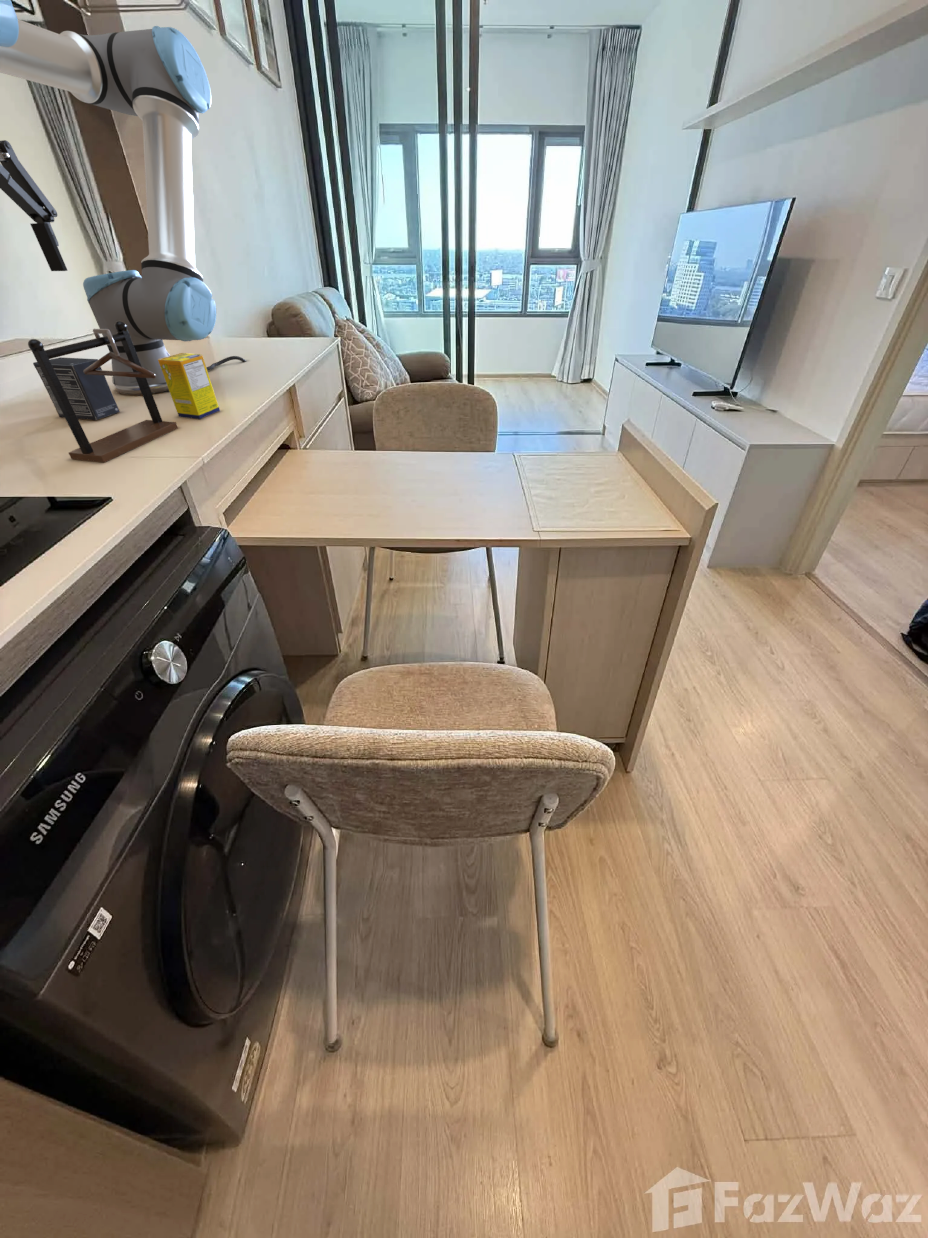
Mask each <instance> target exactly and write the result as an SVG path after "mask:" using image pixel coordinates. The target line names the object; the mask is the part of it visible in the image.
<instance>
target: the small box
mask: <svg viewBox="0 0 928 1238" xmlns="http://www.w3.org/2000/svg"><path fill="white" fill-rule="evenodd" d="M49 360H50V362H51V364H52V366H53V368H54V371H55V373H56V375H57V377H58V379H59V381H60V383H61V385H62V387H63V389H64V391H65V393H66V395H67V397H68V400H69V402H70V404H71V406H72V408H73V410H74V412H75V414H76V416H77V418H78V420H87V421H98V420H101V419H104V418H107V417H109V416H112V415H115V414H118V413H120V412H121V411H120V409H119V406H118V404H117V402H116V400H115V398H114V394H113V393H112V390H111V388H110V385H109V382H108V381H107V378H106V376H105V375H86V374H84V372H83V371H84V369H86V368H87V367H89V366H90V365H92V364H93V363H95V362H96V361H97V360H99V359H98V358H82V357H63V356H60V357H56V358H52V359H49ZM32 364H33V366H34V369H35V370H36V372H37V373H38V376H39V377H40V379H41V382H42V383H43V386H44V387H45V390H46V392H47V394H48V396H49V398H50V400H51V402H52V405H53V407H54V408H55V410H56V413H57V415H58V417H59V418H63V419H64V418H65V417H64V415H63V413H62V411H61V409H60V407H59V405H58V403H57V401H56V399H55V397H54V395H53V393H52V391H51V389H50V387H49V385H48V383H47V381H46V379H45V377H44V375H43V373H42V371H41V369H40V367H39V365H38V363H37V361H35V362H33V363H32ZM96 370H103V369H102V366H100V367H99V368H97V369H96Z"/></svg>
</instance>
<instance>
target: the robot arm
mask: <svg viewBox="0 0 928 1238" xmlns="http://www.w3.org/2000/svg"><path fill="white" fill-rule="evenodd" d="M12 2H13V1H12V0H0V74H4V75H7V76H11V77H16V78H19V79H23V80H25V81H30V82H33V83H37V84H40V85H45V86H48V87H51V88H56V89H59V90H63V91H66V92H70V94H71V95H73V97H75V98H76V99H77V100H79V101H80V102H83V103H86V104H89V105H93V106H97V107H100V108H103V109H107V110H110V111H113V112H117V113H120V114H124V115H129V116H134V117H138V118H139V120H141V122H142V141H143V157H144V159H143V160H144V178H145V179H144V182H145V197H146V201H145V202H146V218H147V219H146V220H147V221H146V222H147V237H148V238H147V240H148V241H147V242H148V255H147V256H145V257H144V258H143V259H141V262H140V266H141V275H140V272H139V271H137V270H136V269H128V270H120V271H114V272H109V273H103V274H98V275H92V276H88V277H86V278H85V279H84V280H83V283H82V286H83V290H84V292H85V296H86V300H87V302H88V305H89V308H90V310H91V312H92V314H93V316H94V319H95V322H96V324H97V326H98V329H109V330H110V332H111V335H113V334H117V333H118V332H117V330H116V328H115V323H116V322H117V321H122V322H124V323H125V324H126V326H127V330H128V332H129V335H130V337H131V340H132V343H133V345H134V348H135V350H136V353H137V356H138V358H139V361H140V363H141V366H142V368H144V369H146V370H148V371H150V372H152V373H154V374H155V375H156V377H155V378H154V379H153V378H146V379H147V382H148V384H149V387H150V390H151V392H152V394H158V393H163V392H164V393H165V392H168V391H169V389H168V386H167V383H166V380H165V378H164V375H163V372H162V369H161V367H160V364H159V361H158V359H161V358H165V357H168V356H171V354H170V353H169V351H168V350H167V349H166V345H165V343H164V341H182V342H192V341H201V340H204V339H206V338H207V337H208V336H209V335H211V334H212V332H213V331H214V328H215V325H216V322H217V321H216V320H217V308H216V307H217V306H216V302H215V299H214V298H213V293H212V291H211V289H210V288H209V287H208V285H207V284H206V283H205V282H204V277H203V275H202V274H201V272H200V271H199V270H198V268H197V267H196V253H195V251H196V250H195V220H194V192H193V191H194V190H193V187H194V185H193V162H192V159H193V157H192V140H193V139H194V138H196V137H197V136H199V132H200V122H199V121H200V120H199V119H200V118H199V116H200V115H199V114H205V113H206V112H207V111H209V110H210V108H211V107H212V106H211V105H212V91H211V85H210V82H209V79H208V75H207V72H206V70H205V67H204V65H203V63H202V60H201V58H200V56H199V54H198V53H197V50H196V49H195V47H194V45H193V44H192V43H191V41H190V40H189V39H188V38H187V37H186V36H185V35H184V33H182V32H181V31H180V30H179V29H177V28H175V27H171V26H163V27H161V26H158V25H154V26H152V27H151V28H145V29H136V30H125V31H117V32H116V31H115V32H107V33H102V34H81V33H77V32H75V31H72V30H64V31H61V32H60V33H57V32H54V31H52V30H49V29H46V28H44V27H41V26H38V25H35V24H32V23H29V22H27V21H24V20H22V19H19V18H18V16H17V13H16V10H15V7H14V6H13V3H12ZM0 190H1V191H2V192H3V193H4V194H5V195H6V196H7V197H9V198H10V199H11V201H13V203H14V204H16V206H18V207H19V208H20V209H21V210H22V211H23V212H24V213H25V214H26V215H27V216H28V217H29V218H30V219H31V220H32V221H33V222H34V223H33V222H32V223H30V226H31V229H32V231H33V233H34V235H35V238H36V240H37V242H38V245H39V247H40V249H41V251H42V254H43V256H44V258H45V261H46V262H47V265H48V267H49V269H50V271H51V272H67V271H68V268H67V266H66V263H65V261H64V259H63V255H62V254H61V251H60V249H59V241H58V239H57V236H56V234H55V231H54V229H53V227H52V224H51V223H55V218H57V217H58V212H57V210H56V208H55V207H54V205H53V204H52V203H51V202H50V201H49V199H48V197H46V195H45V194H44V192H43V191H42V190H41V188H40V187H39V186H38V184H37V183H36V182H35V181H34V179H33V177H32V176H31V175H30V173H29V172H28V170H26V168H25V167H24V165H23V164H22V163H21V161H20V160H19V158H18V156H17V154H16V153H15V150H14V148H13V146H12V144H11V143H10V142H9V141H8V140H5V139H3V140H0ZM101 335H102V337H104V336H107V334H101ZM115 345H116V347H117V350H118V352H119V355H120V357H122V358H124V359H126V360H128V357H127V355H126V352H125V350H124V347H123V345H122V342H121V341H120V342H116V343H115ZM106 347H107V349H108V353H109V352H112V353H114V352H113V349H112V347H111V344H108V345H106ZM234 360H237V361H240V362H242V363H246V362H247V360H246V359H245V358H243V357H241V356H237V355H231V356H227V357H224V358H223V359H220V360H219V361H217V362H213V363H211V364H210V365H209V366H206V368H207V371H208V372H209V371H212V370H214V368H215V367H218V366H221V365H223V364H226V363H228V362H229V361H234ZM110 361H111V371H122V372H133V370H132V368H131V367H129V366H126V365H124V364H122V363H120V362H118V361H116V360H114V359H111V360H110ZM128 361H129V360H128ZM111 381H112V384H113V386H114V389H115V390H116V392H117V393H118V394H120V395H125V396H127V395H128V396H141V395H142V393H141V390H140V388H139V385H138V383H137V380H136V378H135V377H123V376H111ZM169 392H170V391H169ZM142 396H143V395H142Z"/></svg>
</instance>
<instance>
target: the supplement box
mask: <svg viewBox="0 0 928 1238" xmlns="http://www.w3.org/2000/svg"><path fill="white" fill-rule="evenodd" d="M158 361H159V364H160V367H161V369H162V372H163V375H164V378H165V380H166V383H167V386H168V389H169V394H170V397H171V400H172V401H173V405H174V407H175V411H176V413H177V416H178V418H185V419H195V420H202V419H204V418H206V417H208V416H210V415H213V414H216V413H218V412H220V411H221V409H220V407H219V403H218V400H217V397H216V394H215V390H214V387H213V385H212V382H211V378H210V374H209V371H207V368H206V367H207V366H206V365H207V364H206V362H205V359H204V356H203V355H202V354H201V353H189V352H188V353H187V352H179V353H176V354H172V355H170V356H168V357H165V358H161V359H158Z"/></svg>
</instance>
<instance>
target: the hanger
mask: <svg viewBox="0 0 928 1238" xmlns="http://www.w3.org/2000/svg"><path fill="white" fill-rule="evenodd" d="M92 333H93V335H94V337H95V338H100V337H101V335H102V334H107V337H108V339H109V342H110V344H111V347H112V349H113V352H114V353H112V352H109V351H108V352H107V353H106V354H105V355H103V356H102V357H100V358H99V359H98V360H97V361H96V362H95V363H93V364H92V365H90V366H89V367H87V368H86V369H84V371H83V372H84V374H86V375H104V376H105V377H106V376H108V377H113V376H123V377H140V378H153V379H154V378H155V377H156V375H155V374H154V373H152V372H150V371H148V370H146V369H144V368H142V367H140V366H138V365H136V364H134V363H132V362H130V361H128V360H126V359H124V358H122V357H120V355H119V352H118V350H117V347H116V345H115V342H114V340H113V337H112V335H111V332H110V330H109V329H100V328H93V329H92ZM111 359H114V360H116V361H118V362H120V363H122V364H124V365H126V366H129V367H131V368H133V369H135V370H137V371H139V372H122V371H112V370H104V369H102V370H96V369H97V368H99V367H100V366H101V367H102V366H103V365H105V364H107V363H108V362H109V361H112V360H111Z"/></svg>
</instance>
